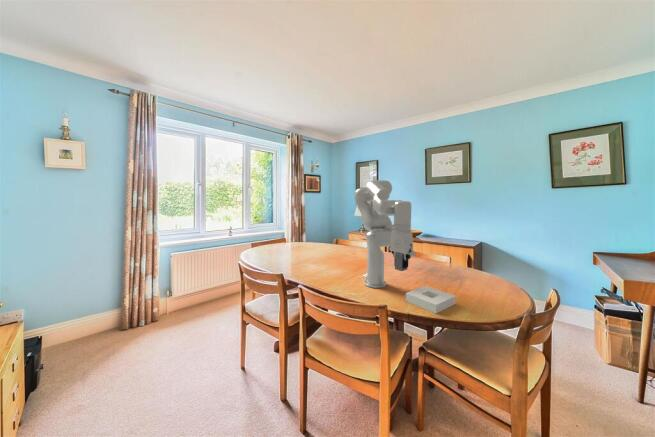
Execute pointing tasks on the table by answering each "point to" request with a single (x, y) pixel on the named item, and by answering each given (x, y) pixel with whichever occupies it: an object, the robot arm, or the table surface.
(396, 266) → the plug
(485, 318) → the table surface
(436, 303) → the socket housing
